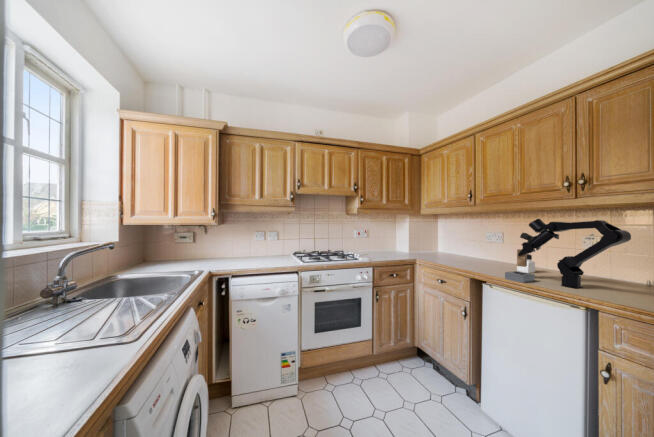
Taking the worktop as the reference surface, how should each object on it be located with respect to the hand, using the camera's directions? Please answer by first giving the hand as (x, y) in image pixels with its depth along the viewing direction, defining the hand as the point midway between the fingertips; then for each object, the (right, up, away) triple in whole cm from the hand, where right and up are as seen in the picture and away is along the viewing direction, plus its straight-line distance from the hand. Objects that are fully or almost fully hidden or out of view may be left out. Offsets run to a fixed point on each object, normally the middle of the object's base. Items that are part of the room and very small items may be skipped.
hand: (519, 255), depth 154 cm
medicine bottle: (+16, -14, +15) cm, 26 cm away
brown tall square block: (+1, -7, -1) cm, 7 cm away
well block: (-6, -13, -8) cm, 17 cm away
